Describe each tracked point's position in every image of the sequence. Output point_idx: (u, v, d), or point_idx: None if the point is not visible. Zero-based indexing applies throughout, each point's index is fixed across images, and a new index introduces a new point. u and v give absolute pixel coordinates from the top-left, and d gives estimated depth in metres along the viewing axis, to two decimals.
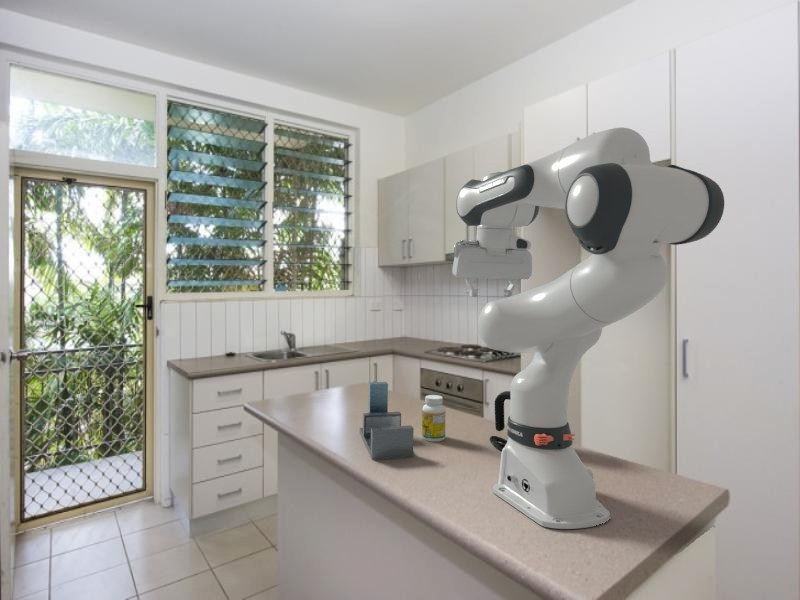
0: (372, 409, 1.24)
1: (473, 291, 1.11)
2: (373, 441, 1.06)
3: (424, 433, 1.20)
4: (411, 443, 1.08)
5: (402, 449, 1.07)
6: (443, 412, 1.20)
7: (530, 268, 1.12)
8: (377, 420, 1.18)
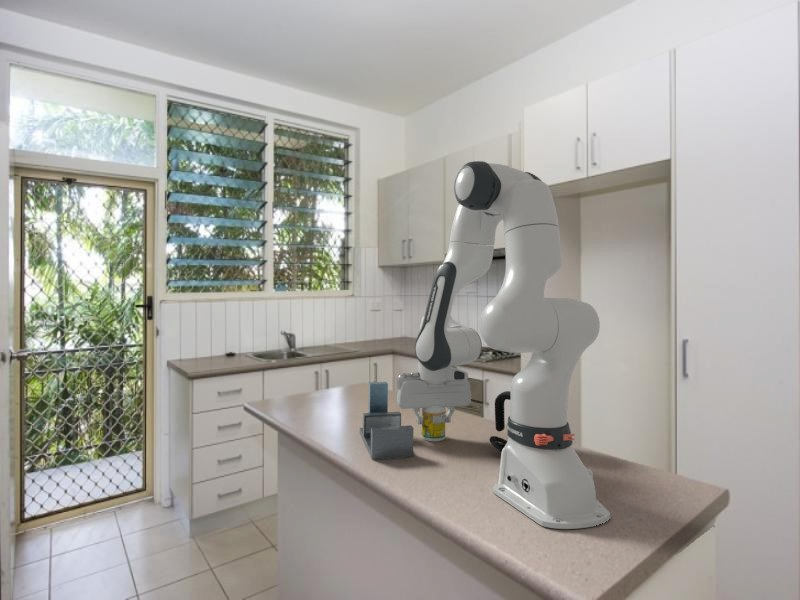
0: (372, 409, 1.24)
1: (420, 420, 1.20)
2: (373, 441, 1.06)
3: (424, 433, 1.20)
4: (411, 443, 1.08)
5: (402, 449, 1.07)
6: (443, 412, 1.20)
7: (469, 396, 1.22)
8: (377, 420, 1.18)
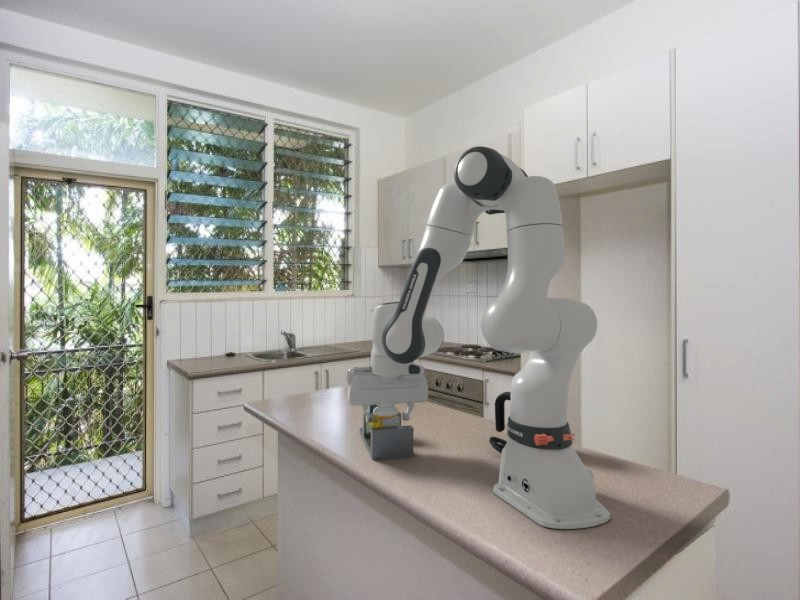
0: (372, 409, 1.24)
1: (368, 418, 1.11)
2: (373, 441, 1.06)
3: None
4: (411, 443, 1.08)
5: (402, 449, 1.07)
6: (395, 415, 1.11)
7: (426, 391, 1.13)
8: None
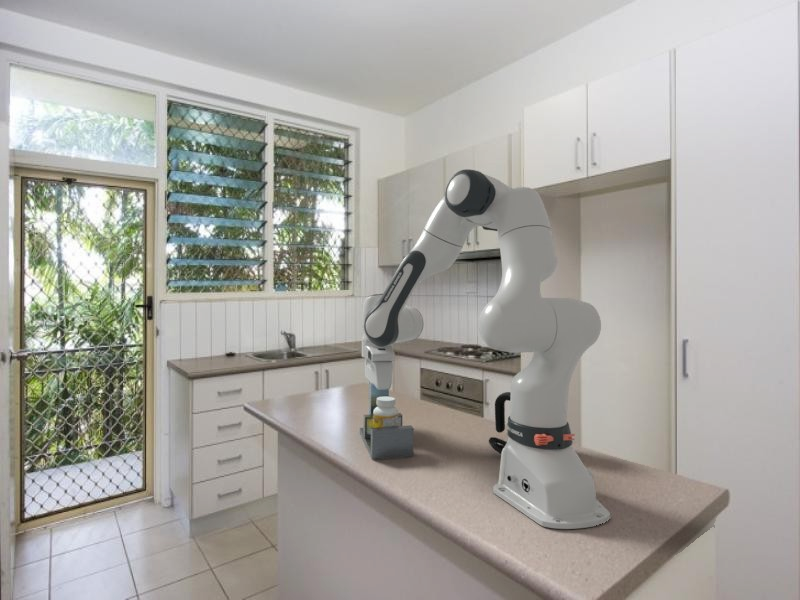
0: (373, 410, 1.23)
1: None
2: (373, 441, 1.06)
3: None
4: (411, 443, 1.08)
5: (402, 449, 1.07)
6: (395, 415, 1.11)
7: (376, 379, 1.18)
8: None
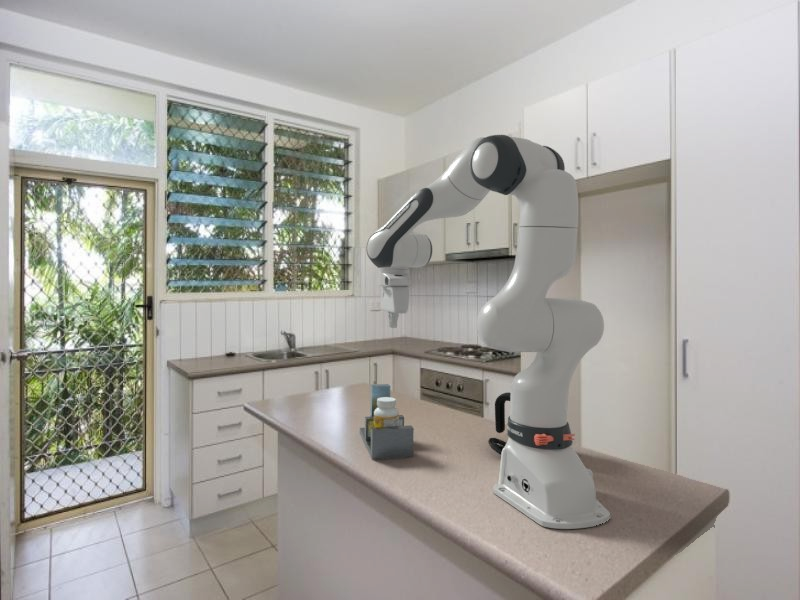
0: None
1: (389, 323, 1.31)
2: (373, 441, 1.06)
3: None
4: (411, 443, 1.08)
5: (402, 449, 1.07)
6: (395, 416, 1.10)
7: (393, 303, 1.21)
8: None
